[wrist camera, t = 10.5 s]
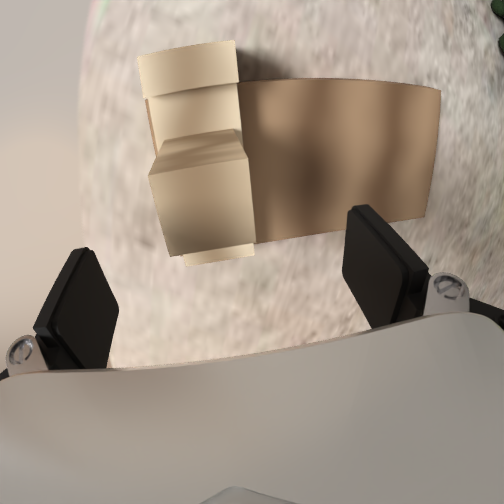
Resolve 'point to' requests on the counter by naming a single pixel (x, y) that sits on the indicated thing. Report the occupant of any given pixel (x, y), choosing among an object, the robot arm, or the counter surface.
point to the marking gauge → (199, 152)
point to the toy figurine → (499, 8)
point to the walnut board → (335, 151)
